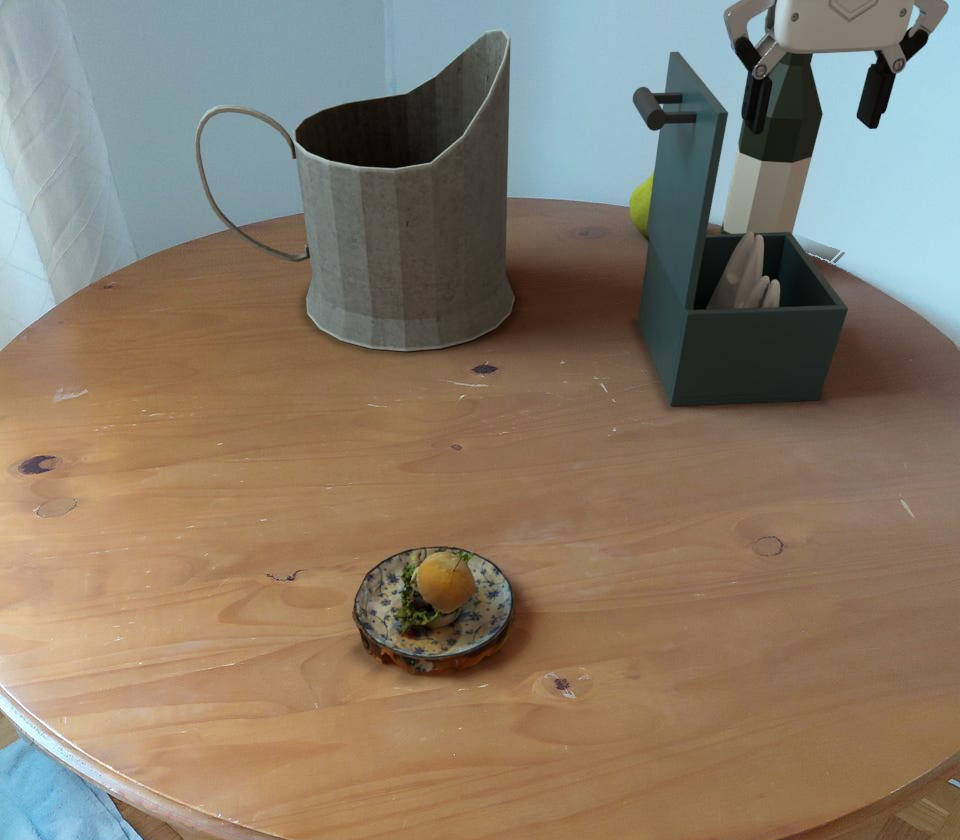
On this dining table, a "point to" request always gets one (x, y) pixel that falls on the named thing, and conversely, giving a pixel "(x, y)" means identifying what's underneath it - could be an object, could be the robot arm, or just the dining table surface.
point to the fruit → (641, 205)
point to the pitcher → (405, 206)
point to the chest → (742, 329)
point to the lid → (682, 170)
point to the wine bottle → (776, 153)
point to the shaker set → (746, 279)
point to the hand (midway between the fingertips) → (809, 126)
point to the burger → (434, 608)
